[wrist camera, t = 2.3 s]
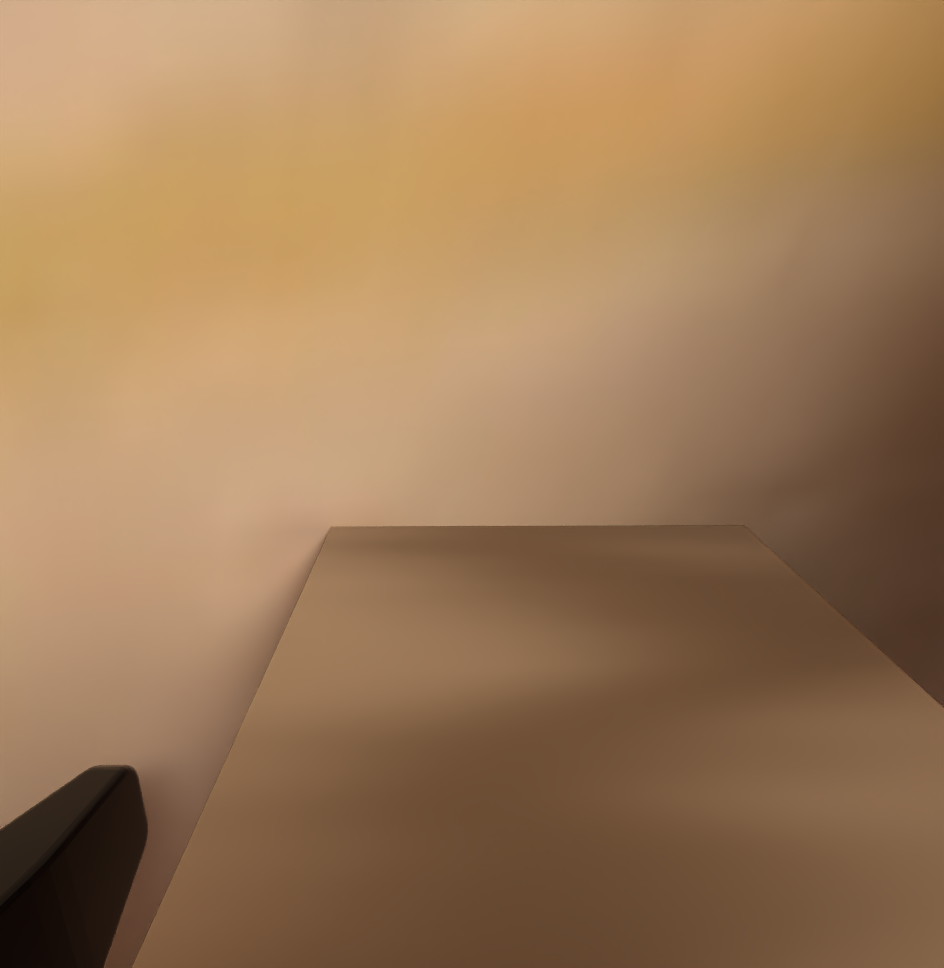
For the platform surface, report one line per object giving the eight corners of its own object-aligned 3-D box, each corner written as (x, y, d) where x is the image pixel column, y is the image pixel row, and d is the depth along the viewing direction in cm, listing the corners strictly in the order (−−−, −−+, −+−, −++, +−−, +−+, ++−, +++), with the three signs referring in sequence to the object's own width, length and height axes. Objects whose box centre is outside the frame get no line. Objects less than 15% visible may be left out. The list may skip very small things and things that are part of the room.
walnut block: (742, 524, 8) (1464, 1183, 2) (693, 836, 10) (1040, 1669, 4) (331, 525, 8) (12, 1232, 2) (353, 843, 9) (206, 1717, 4)
